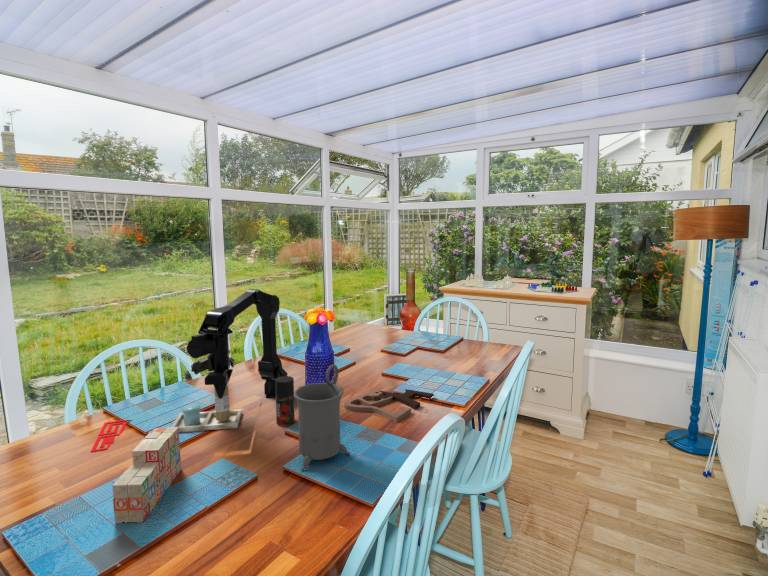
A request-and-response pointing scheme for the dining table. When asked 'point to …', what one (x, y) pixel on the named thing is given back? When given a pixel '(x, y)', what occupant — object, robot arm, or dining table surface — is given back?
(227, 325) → the robot arm
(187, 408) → the pot
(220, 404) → the sprinkles bottle
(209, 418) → the caddy
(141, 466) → the stack of blocks
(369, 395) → the wood carving
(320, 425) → the grey footed bucket
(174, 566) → the dining table surface
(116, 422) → the maze puzzle
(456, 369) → the dining table surface
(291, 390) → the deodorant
